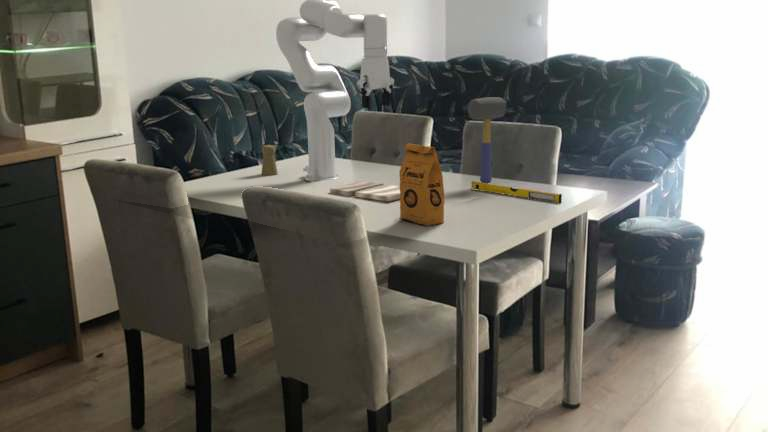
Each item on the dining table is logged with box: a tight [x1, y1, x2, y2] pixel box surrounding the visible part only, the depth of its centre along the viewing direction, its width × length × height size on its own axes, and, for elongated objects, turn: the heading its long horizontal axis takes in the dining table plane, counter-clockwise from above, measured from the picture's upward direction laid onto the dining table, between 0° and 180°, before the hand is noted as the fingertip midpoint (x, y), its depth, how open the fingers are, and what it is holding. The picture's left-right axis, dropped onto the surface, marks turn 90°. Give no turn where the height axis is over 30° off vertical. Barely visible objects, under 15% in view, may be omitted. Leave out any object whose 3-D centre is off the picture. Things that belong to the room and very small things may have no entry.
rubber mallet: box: [467, 96, 507, 184], centre depth 282 cm, size 12×8×30 cm, turn 122°
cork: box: [261, 144, 278, 177], centre depth 308 cm, size 6×6×11 cm
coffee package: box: [399, 142, 445, 227], centre depth 232 cm, size 10×12×22 cm
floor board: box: [329, 180, 400, 204], centre depth 268 cm, size 26×17×3 cm, turn 49°
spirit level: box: [471, 180, 563, 204], centre depth 266 cm, size 33×1×3 cm, turn 48°
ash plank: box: [355, 184, 400, 201], centre depth 264 cm, size 14×15×2 cm
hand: (376, 106), depth 270 cm, fingers open, 9 cm apart
